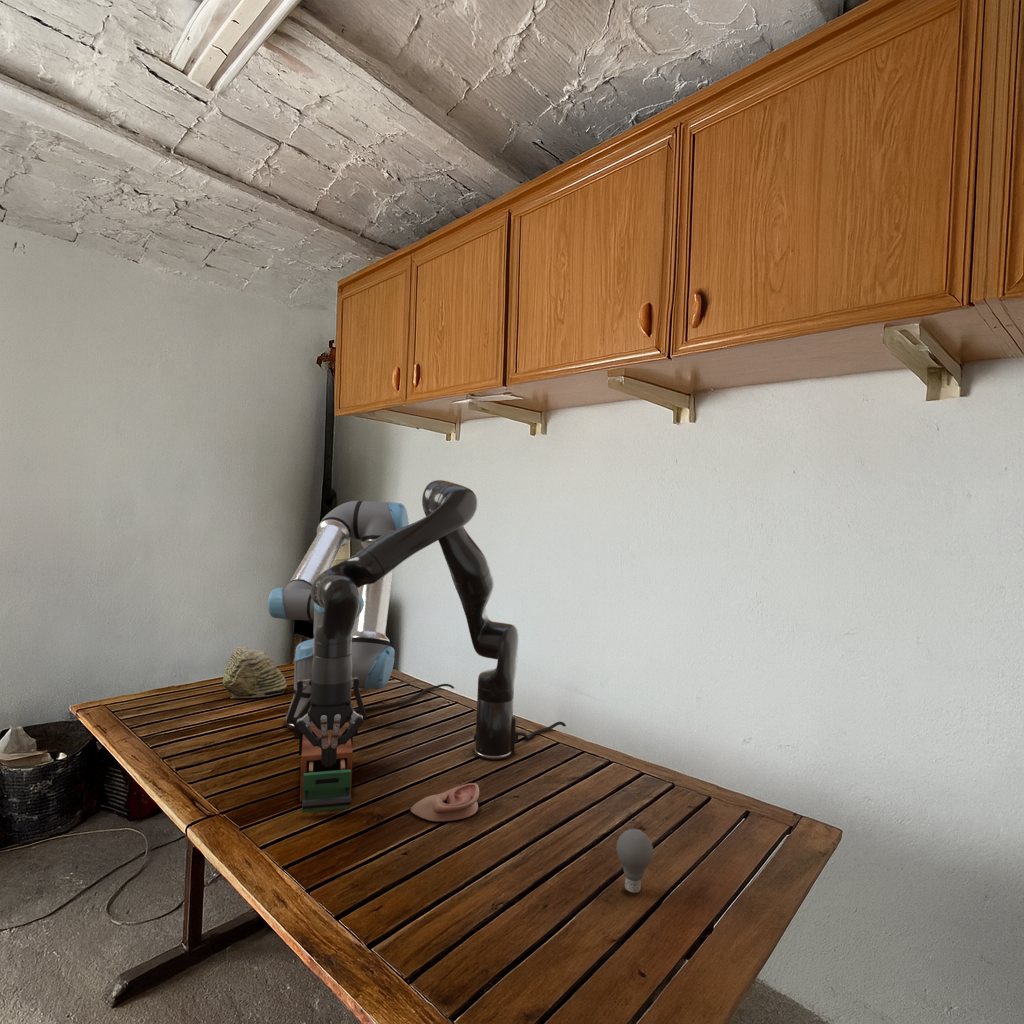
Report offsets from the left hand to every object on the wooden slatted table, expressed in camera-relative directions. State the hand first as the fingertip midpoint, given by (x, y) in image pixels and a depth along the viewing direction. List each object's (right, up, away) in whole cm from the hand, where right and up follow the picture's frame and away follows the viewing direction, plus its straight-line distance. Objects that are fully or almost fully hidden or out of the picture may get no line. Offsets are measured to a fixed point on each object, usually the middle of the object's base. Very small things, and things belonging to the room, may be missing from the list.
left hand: (325, 751), depth 147 cm
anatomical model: (+29, -6, -16) cm, 34 cm away
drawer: (+5, -4, -15) cm, 16 cm away
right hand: (+8, +6, -24) cm, 26 cm away
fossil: (-38, -2, +52) cm, 64 cm away
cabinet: (+1, -5, -5) cm, 7 cm away
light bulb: (+63, -8, -41) cm, 76 cm away
